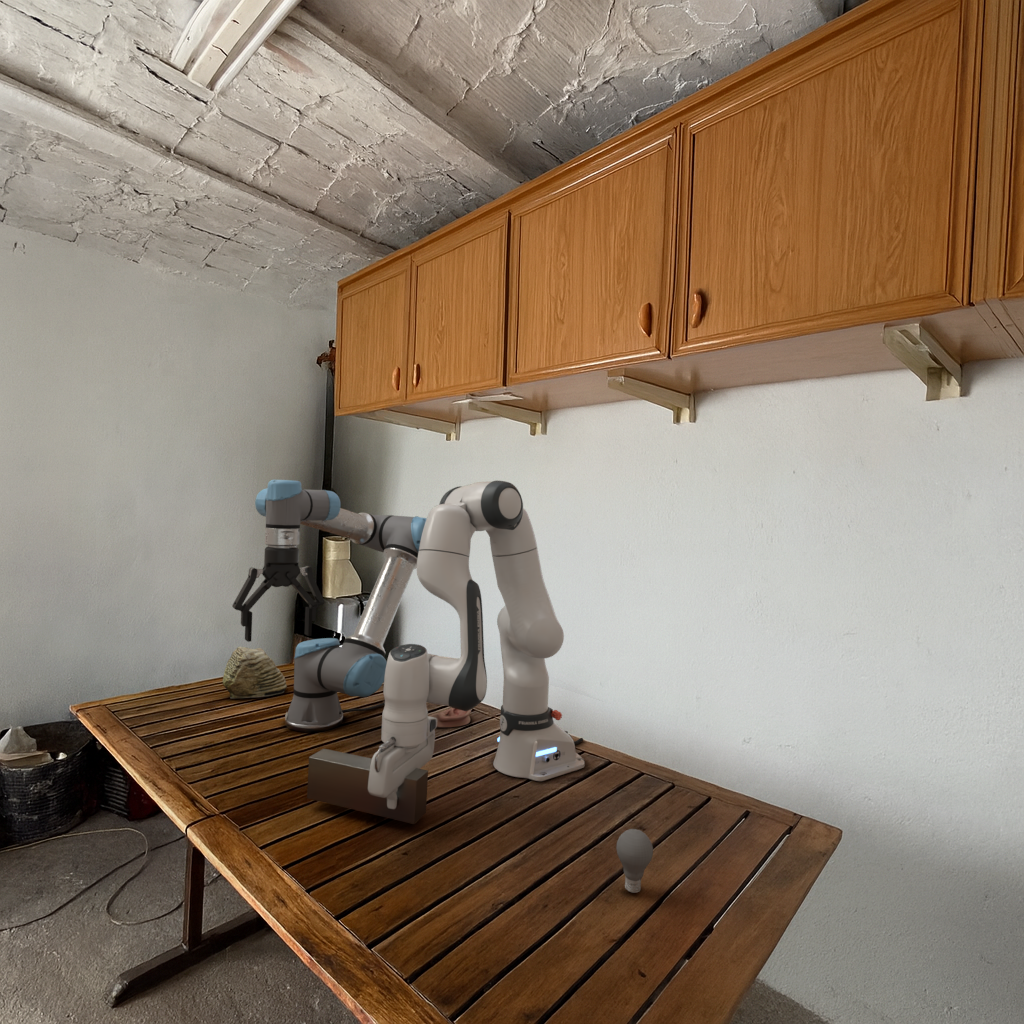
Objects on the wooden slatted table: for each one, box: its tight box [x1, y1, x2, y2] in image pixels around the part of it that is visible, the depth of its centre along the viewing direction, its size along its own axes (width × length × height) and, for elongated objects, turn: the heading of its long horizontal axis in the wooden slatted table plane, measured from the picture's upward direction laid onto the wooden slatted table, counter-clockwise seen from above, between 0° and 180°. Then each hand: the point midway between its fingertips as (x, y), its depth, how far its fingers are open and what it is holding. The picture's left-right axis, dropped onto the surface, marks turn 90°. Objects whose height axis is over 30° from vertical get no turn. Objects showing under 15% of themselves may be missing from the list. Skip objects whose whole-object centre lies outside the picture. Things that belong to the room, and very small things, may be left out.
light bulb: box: [615, 828, 654, 894], centre depth 106 cm, size 6×6×10 cm
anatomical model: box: [428, 707, 472, 728], centre depth 182 cm, size 13×4×12 cm
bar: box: [306, 748, 429, 825], centre depth 126 cm, size 24×5×8 cm, turn 71°
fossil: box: [222, 646, 288, 699], centre depth 198 cm, size 9×18×15 cm, turn 132°
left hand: (278, 637), depth 147 cm, fingers open, 13 cm apart
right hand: (401, 800), depth 124 cm, fingers closed on bar, 5 cm apart
